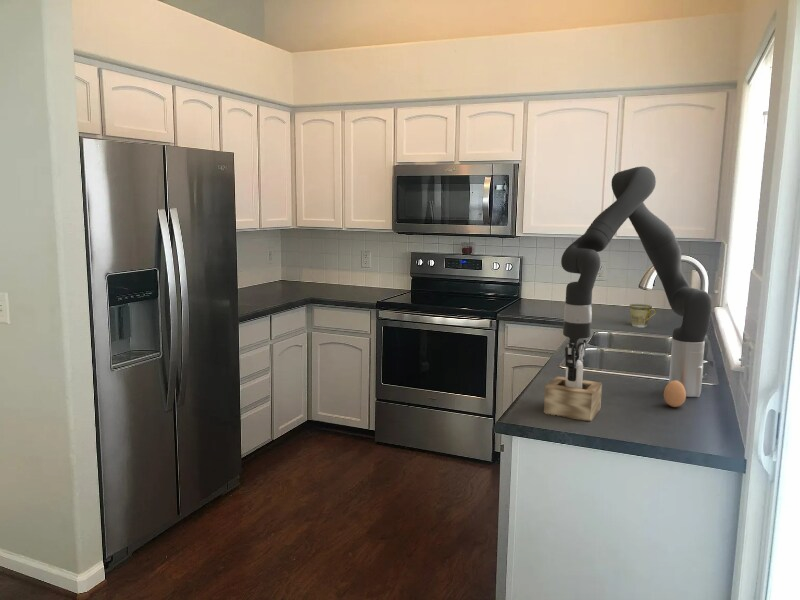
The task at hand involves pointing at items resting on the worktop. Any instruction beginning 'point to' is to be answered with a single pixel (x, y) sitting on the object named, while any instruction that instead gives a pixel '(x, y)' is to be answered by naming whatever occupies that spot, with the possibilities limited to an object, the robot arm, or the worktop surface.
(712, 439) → the worktop surface
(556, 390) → the box
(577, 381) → the eye dropper bottle
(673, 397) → the egg
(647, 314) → the ceramic cup
